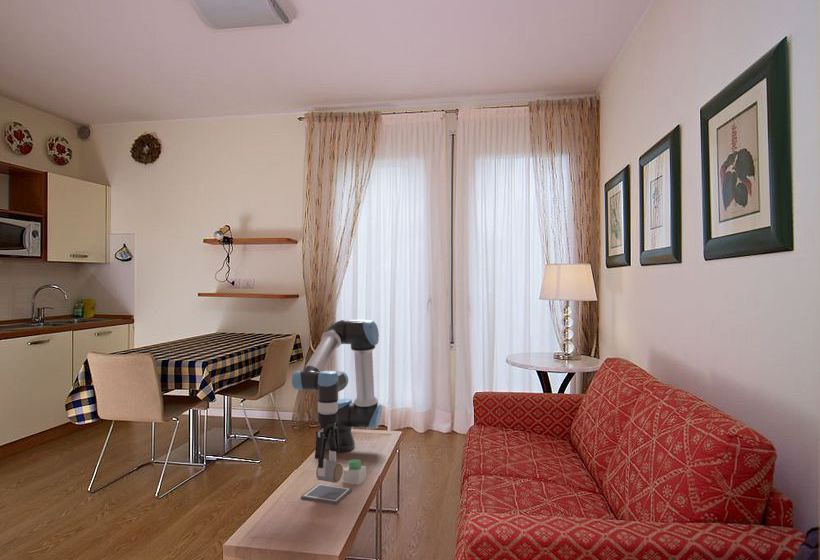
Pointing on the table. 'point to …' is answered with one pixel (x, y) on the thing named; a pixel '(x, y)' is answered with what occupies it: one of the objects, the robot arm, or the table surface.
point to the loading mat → (327, 493)
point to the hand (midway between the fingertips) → (327, 471)
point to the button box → (354, 475)
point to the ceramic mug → (331, 472)
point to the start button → (354, 463)
